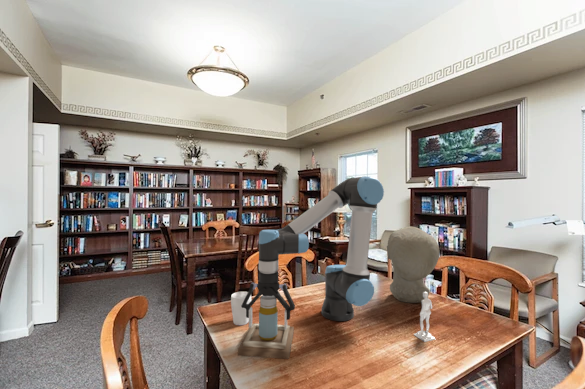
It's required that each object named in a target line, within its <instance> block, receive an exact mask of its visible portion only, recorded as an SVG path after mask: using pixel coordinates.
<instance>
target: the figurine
mask: <svg viewBox="0 0 585 389" xmlns="http://www.w3.org/2000/svg"><path fill="white" fill-rule="evenodd" d="M423 297H424V299H423V300H422V302H420V304H421V310H420V312H419V316H420V317H419V326H420V327H419V328H420V330H418V331H417V332H416V333H413V336H415V337H416V338H417V339H419V340H420V341H422V342H424V343H427V342H430V341H433V340H436V338H435V336H434V335H432V333H430V332H429V330H430V321H429V320H430V317H431V316H430V315H431V314H432V311H431V310H432V309H433V304H432V300H431V299H430V298H429V295H428V293H427V292H423ZM427 297H428V298H427ZM424 320H425V323H426V325H425V326H426V327H425V328H426V329H425V330H424Z"/></svg>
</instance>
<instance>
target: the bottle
mask: <svg viewBox="0 0 585 389" xmlns="http://www.w3.org/2000/svg"><path fill="white" fill-rule="evenodd" d="M259 299H260V302H259V309H258V324H259V337H260V338H261V339H262V340H264V341H271V340H274V339H275V338H276V337H277V325H279V324H278V318H279V317H278V315H279V313H278V310H279V309H278V306H277V301H278V299H277V298H275V296H274V295H273V296H264V295H261V296H260V297H259Z"/></svg>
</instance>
